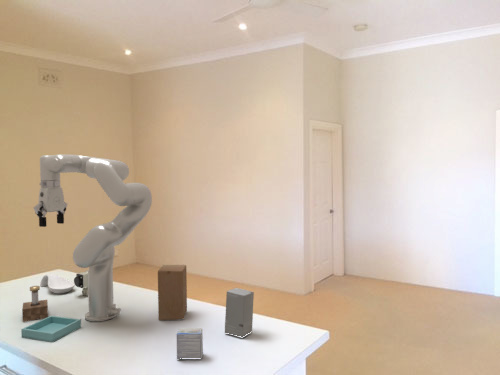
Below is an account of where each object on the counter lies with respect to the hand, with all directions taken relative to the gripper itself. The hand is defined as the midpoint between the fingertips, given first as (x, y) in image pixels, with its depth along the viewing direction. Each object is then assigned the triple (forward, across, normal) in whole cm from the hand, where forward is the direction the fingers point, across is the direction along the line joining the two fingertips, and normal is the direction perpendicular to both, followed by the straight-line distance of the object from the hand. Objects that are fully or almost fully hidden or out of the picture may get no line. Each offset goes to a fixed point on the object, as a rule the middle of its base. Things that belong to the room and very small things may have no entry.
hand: (51, 224), depth 173 cm
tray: (+37, -19, -17) cm, 45 cm away
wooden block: (+37, +9, -52) cm, 64 cm away
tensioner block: (+37, -8, +2) cm, 38 cm away
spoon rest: (+37, +24, +22) cm, 50 cm away
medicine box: (+37, -22, -75) cm, 86 cm away
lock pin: (+37, -8, +2) cm, 38 cm away
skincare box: (+37, 0, -84) cm, 92 cm away
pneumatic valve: (+37, +22, +1) cm, 43 cm away
